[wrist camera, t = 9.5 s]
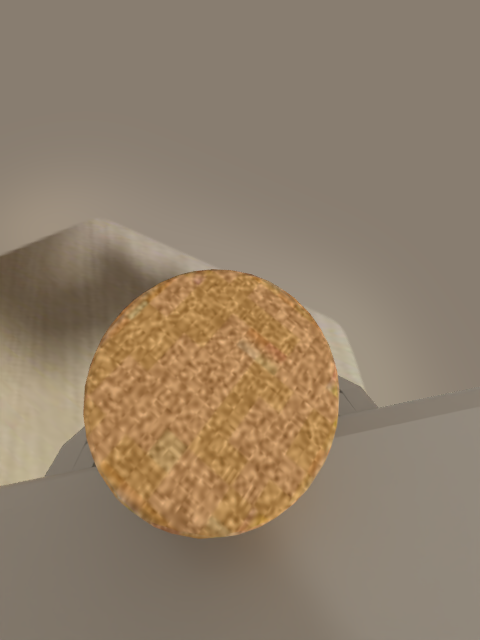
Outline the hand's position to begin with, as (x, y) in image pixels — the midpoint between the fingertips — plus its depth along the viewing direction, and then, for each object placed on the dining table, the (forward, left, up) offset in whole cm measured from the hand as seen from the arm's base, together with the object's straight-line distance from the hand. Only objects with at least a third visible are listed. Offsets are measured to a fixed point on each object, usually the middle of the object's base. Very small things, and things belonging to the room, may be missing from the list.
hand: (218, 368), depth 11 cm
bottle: (-1, -1, -8) cm, 8 cm away
